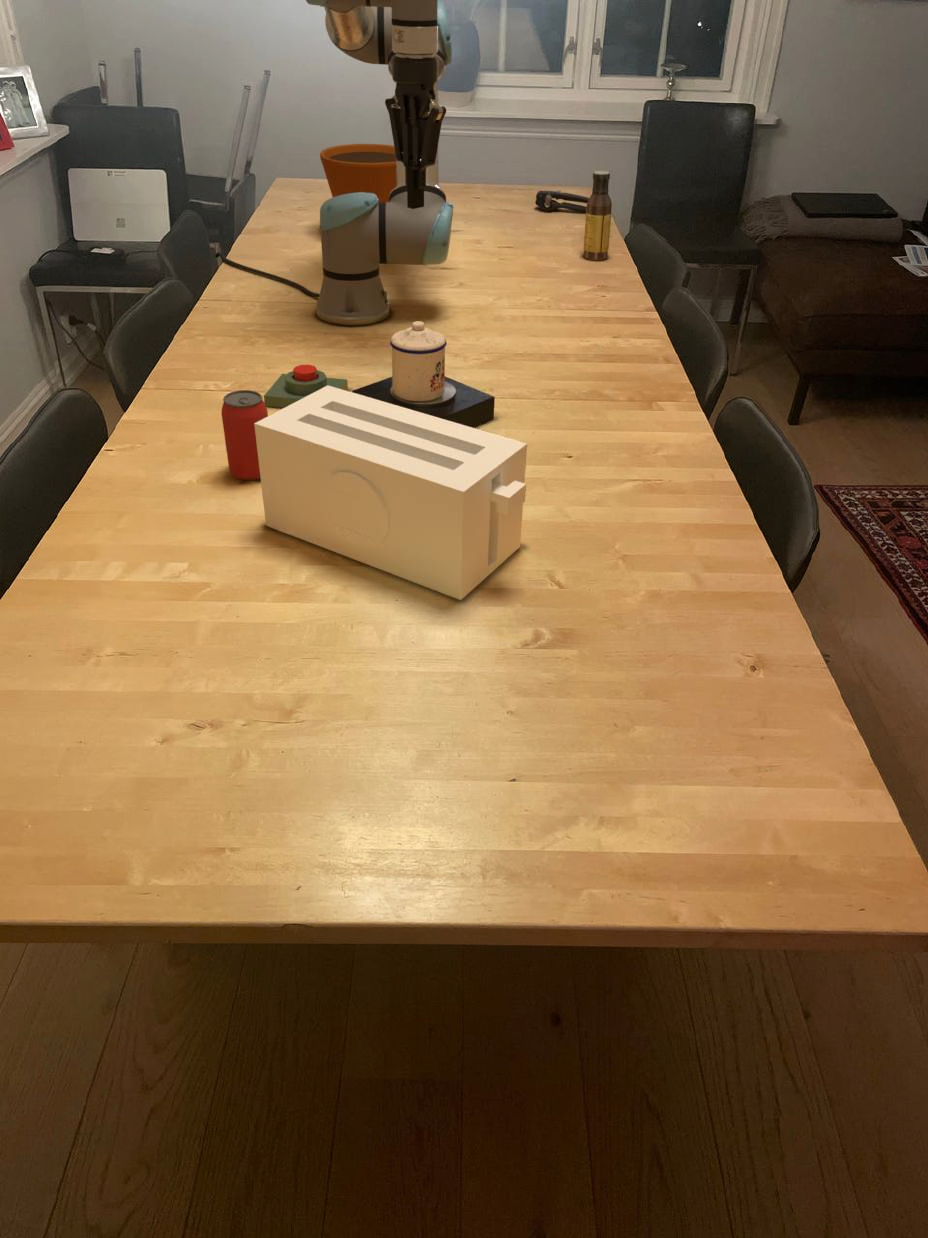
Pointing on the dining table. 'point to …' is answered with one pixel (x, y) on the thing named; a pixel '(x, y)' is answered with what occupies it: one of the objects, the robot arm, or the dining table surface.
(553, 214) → the dining table surface
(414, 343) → the teacup with lid
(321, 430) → the toaster
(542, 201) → the can opener
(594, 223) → the sauce bottle
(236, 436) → the beer can
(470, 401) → the cup warmer
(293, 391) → the box
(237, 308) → the dining table surface
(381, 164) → the flower pot
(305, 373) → the button
